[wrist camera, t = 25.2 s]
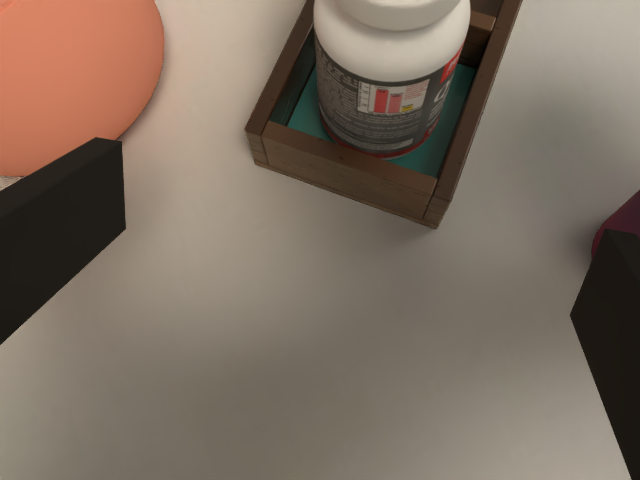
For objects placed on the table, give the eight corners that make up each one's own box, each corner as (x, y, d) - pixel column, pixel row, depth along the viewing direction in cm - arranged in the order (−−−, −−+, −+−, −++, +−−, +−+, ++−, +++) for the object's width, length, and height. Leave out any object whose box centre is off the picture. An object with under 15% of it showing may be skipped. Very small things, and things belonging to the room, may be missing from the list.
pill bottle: (448, 157, 26) (510, 12, 17) (325, 171, 26) (318, 33, 17) (427, 52, 28) (474, -134, 19) (312, 64, 28) (300, -115, 18)
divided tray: (538, -57, 31) (563, -115, 27) (436, 229, 26) (450, 202, 23) (379, -102, 32) (384, -162, 29) (255, 164, 27) (243, 129, 24)
